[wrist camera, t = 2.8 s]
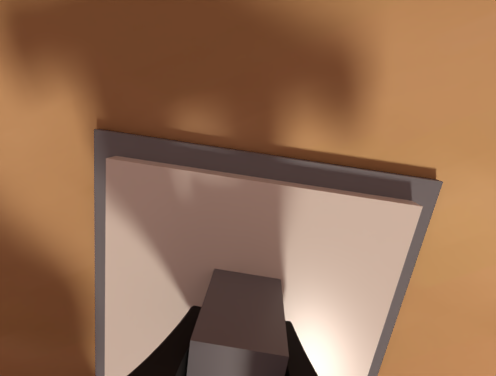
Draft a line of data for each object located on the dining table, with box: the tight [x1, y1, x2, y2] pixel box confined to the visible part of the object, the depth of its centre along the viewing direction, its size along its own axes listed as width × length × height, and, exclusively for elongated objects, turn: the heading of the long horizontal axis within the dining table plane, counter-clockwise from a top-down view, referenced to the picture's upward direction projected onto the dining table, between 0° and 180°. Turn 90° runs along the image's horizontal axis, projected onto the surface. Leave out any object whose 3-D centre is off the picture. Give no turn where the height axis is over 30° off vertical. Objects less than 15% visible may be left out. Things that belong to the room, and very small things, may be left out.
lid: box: [105, 156, 423, 376], centre depth 11 cm, size 13×13×5 cm
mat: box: [94, 129, 443, 376], centre depth 13 cm, size 15×15×1 cm
